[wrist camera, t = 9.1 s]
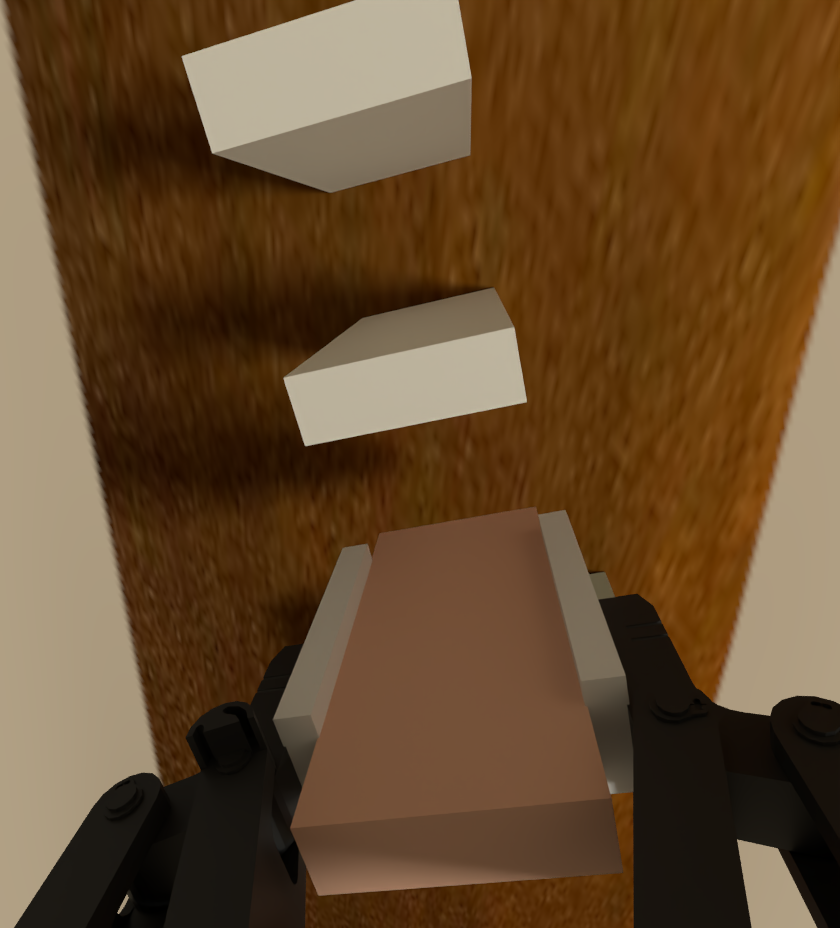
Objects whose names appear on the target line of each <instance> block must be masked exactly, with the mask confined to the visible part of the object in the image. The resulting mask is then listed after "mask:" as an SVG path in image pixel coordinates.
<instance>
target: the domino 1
mask: <svg viewBox="0 0 840 928" xmlns="http://www.w3.org/2000/svg"><path fill="white" fill-rule="evenodd" d="M182 59H183V63H184V66H185V69H186V72H187V75H188V78H189V82H190V85H191V88H192V91H193V94H194V97H195V101H196V104H197V107H198V110H199V113H200V116H201V119H202V123H203V126H204V129H205V132H206V135H207V138H208V142H209V145H210V148H211V151H212V154H215V155H218V156H221V157H224V158H227V159H230V160H233V161H236V162H239V163H242V164H245V165H248V166H251V167H254V168H257V169H260V170H263V171H266V172H269V173H272V174H275V175H278V176H281V177H284V178H287V179H290V180H293V181H296V182H299V183H302V184H305V185H308V186H311V187H314V188H317V189H320V190H323V191H326V192H329V193H332V192H335V191H339V190H343V189H346V188H350V187H354V186H358V185H361V184H365V183H369V182H372V181H376V180H380V179H384V178H387V177H391V176H395V175H398V174H402V173H406V172H410V171H413V170H417V169H421V168H424V167H428V166H432V165H436V164H439V163H443V162H447V161H450V160H454V159H458V158H461V157H465V156H469V155H470V140H471V82H472V78H471V72H470V66H469V60H468V54H467V49H466V43H465V37H464V31H463V25H462V19H461V14H460V8H459V2H458V0H355V1H352V2H349V3H346V4H343V5H340V6H337V7H333V8H330V9H327V10H324V11H321V12H318V13H315V14H312V15H309V16H305V17H302V18H299V19H296V20H293V21H290V22H287V23H284V24H281V25H277V26H274V27H271V28H268V29H265V30H262V31H259V32H256V33H253V34H249V35H246V36H243V37H240V38H237V39H234V40H231V41H228V42H225V43H221V44H218V45H215V46H212V47H209V48H206V49H203V50H200V51H197V52H193V53H190V54H187V55H184V56H182Z"/></svg>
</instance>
